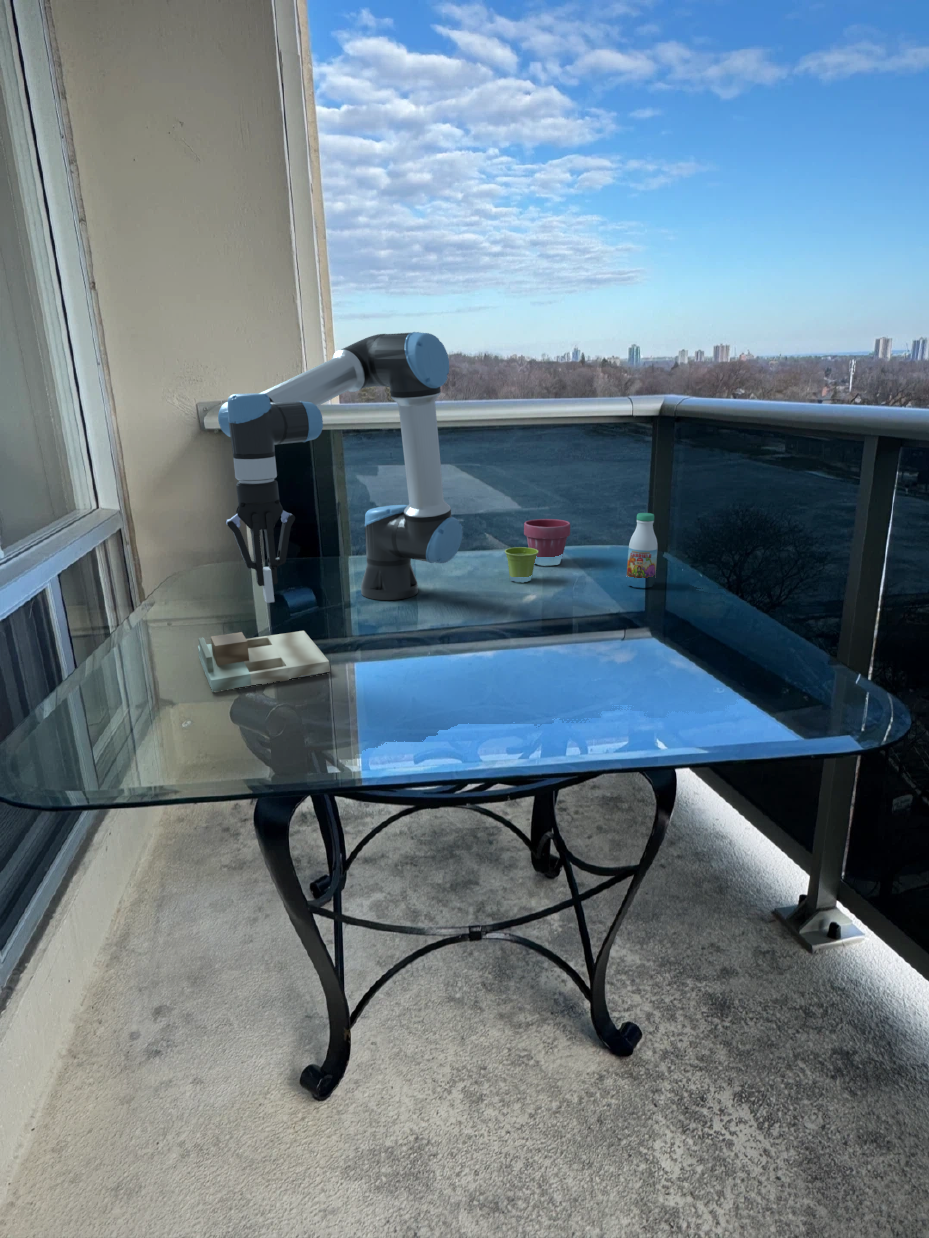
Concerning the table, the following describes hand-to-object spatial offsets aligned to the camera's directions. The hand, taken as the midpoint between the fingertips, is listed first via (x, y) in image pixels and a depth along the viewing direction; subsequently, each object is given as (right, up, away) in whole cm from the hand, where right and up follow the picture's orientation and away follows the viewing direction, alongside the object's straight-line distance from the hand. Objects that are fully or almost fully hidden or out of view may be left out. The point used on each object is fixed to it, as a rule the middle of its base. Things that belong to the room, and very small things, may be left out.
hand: (269, 600), depth 145 cm
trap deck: (-2, -13, +3) cm, 13 cm away
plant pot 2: (+64, +13, +83) cm, 106 cm away
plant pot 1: (+54, +7, +64) cm, 84 cm away
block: (-7, -11, 0) cm, 14 cm away
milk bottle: (+87, +5, +59) cm, 106 cm away
